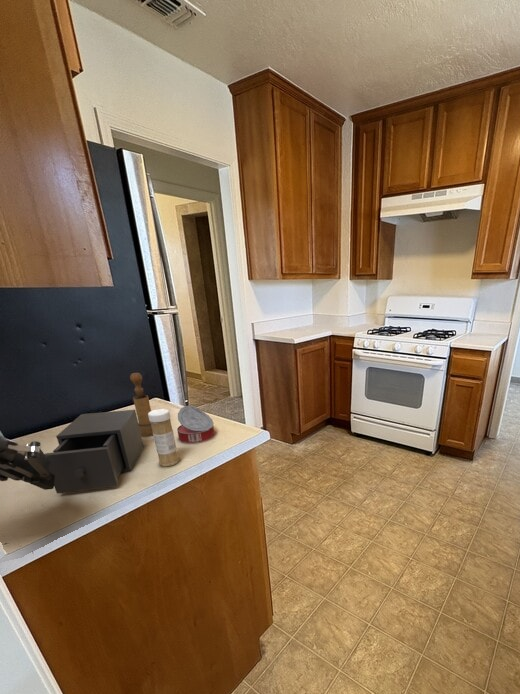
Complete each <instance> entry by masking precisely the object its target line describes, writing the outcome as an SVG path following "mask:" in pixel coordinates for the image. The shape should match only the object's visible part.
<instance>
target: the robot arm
mask: <svg viewBox="0 0 520 694" xmlns="http://www.w3.org/2000/svg"><path fill="white" fill-rule="evenodd" d="M8 480H13V481H17V482H18V481H22V482H25V483H28V484H30V485H32V486H35V487H37V488H39V489H42V490H44V491H48V490H55V487H54V480H55V475H54V474H52V473H51V472H50V460H49V459H48V458H47V457H46V455H45V452H43V450H42V449H41V442H40V441H36V440H35V441H31V442H30V444H29V443H26V444H23V445H22V444H19V443H18V442H17V441H15V440H12V439H8V438H6V437H5V436H4V435H3V433H2V431H1V430H0V482H6V481H8Z"/></svg>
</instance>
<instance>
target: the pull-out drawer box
mask: <svg viewBox="0 0 520 694" xmlns="http://www.w3.org/2000/svg"><path fill="white" fill-rule="evenodd" d="M44 454H45V455H46V457H47V458H48V459H49V460H50V472H51V473H52V474H54V475H55V480H54V490H55V492H56V494H65V493H72V492H79V491H80V492H81V491H89V490H94V489H95V490H96V489H97V490H98V489H103V488H104V489H105V488H112V487H117V486H118V485H119V480H118V478H119V476H120V474H121V473H122V472H121V471H122V469H123V467H124V466H125V462H124V458H123V454H122V450H121V447H120V443H119V439H118V435H117V433H116V434H106V435H96V436H86V437H76V438H66V439H65V440H64V441H63V442H62V443H61V444H60V445H59V444H58V445H57V447H56V448H54V449H53V451H52V452H44Z"/></svg>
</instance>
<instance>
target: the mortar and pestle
mask: <svg viewBox="0 0 520 694" xmlns="http://www.w3.org/2000/svg"><path fill="white" fill-rule="evenodd" d="M129 379H130V381H131V382H132V384H133V385H134V388H133V390H134V393H135V394H136V395H135V396H133V397H132V400H133V405H134V407H135V408H134V409H135V411H136V415H137V419H138V424H139V428H140V432H141V436H142V438H143V437H144V438H145V437H151V436H153V430H152V426H151V423H150V421H149V417H148V413H149V412H151V411H152V409H151V403H150V398H149V395H147V394H144V388H143V387H142V381H143V376H142V374H141V373H140V372H133V373H130V376H129Z"/></svg>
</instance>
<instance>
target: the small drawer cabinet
mask: <svg viewBox="0 0 520 694" xmlns="http://www.w3.org/2000/svg"><path fill="white" fill-rule="evenodd" d="M138 423H139V421H138V417H137V412H136V409H125V410H112V411H104V412H103V411H102V412H101V411H100V412H92V413H82V414H80V415H79V416H77V417H76V418H75V419H74V420H73V421H72V422H70V423H69V424H67V426H66V427H65V428H64V429H62V430H61V431H60V432H59V433H58V434H56V436H55V437H56V439H57V442H58V446H59V445H60V444H61V443H62V442H63V441H64V440H65V439H66V438H76V437H86V436H96V435H106V434H116V433H117V435H118V439H119V443H120V447H121V450H122V454H123V458H124V462H125V466H124V467H123V469H122V471H121V472H120V473H128V472H131V471H132V469H133V468H134V466H135V464H136V462H137V460H138V458H139V456H140V454H141V453H142V451H143V449H144V447H145V445H144V444H145V443H144V440H143V437H142V436H141V432H140V428H139V424H138Z"/></svg>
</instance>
